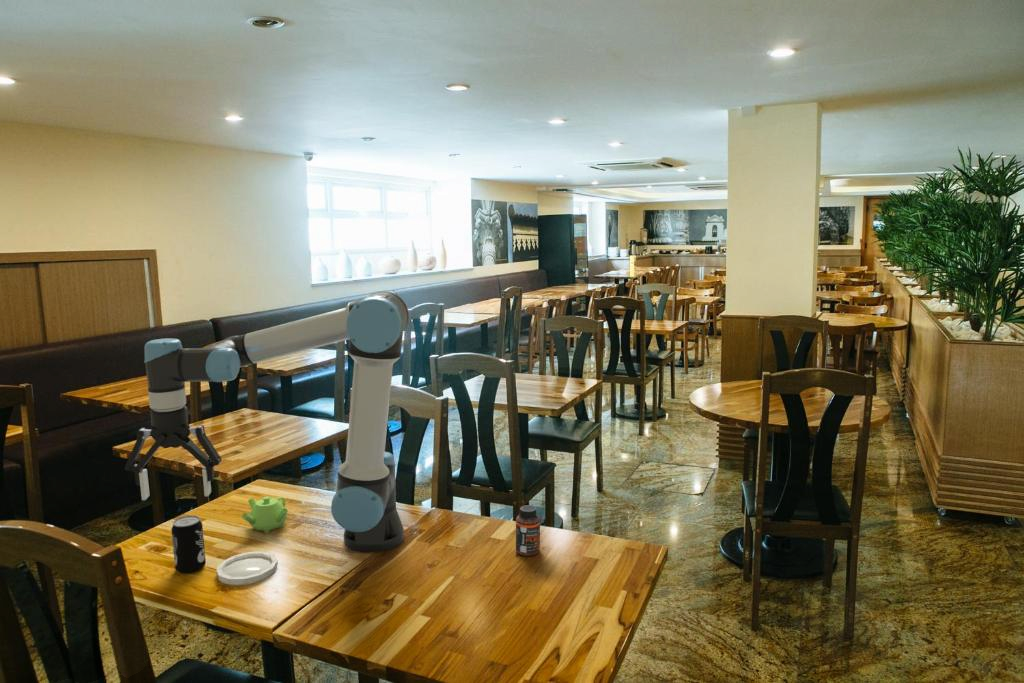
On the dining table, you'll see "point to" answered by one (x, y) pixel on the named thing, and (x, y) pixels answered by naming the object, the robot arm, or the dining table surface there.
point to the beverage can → (188, 544)
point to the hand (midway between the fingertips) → (177, 496)
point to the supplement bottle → (527, 531)
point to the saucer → (247, 568)
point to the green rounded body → (266, 514)
